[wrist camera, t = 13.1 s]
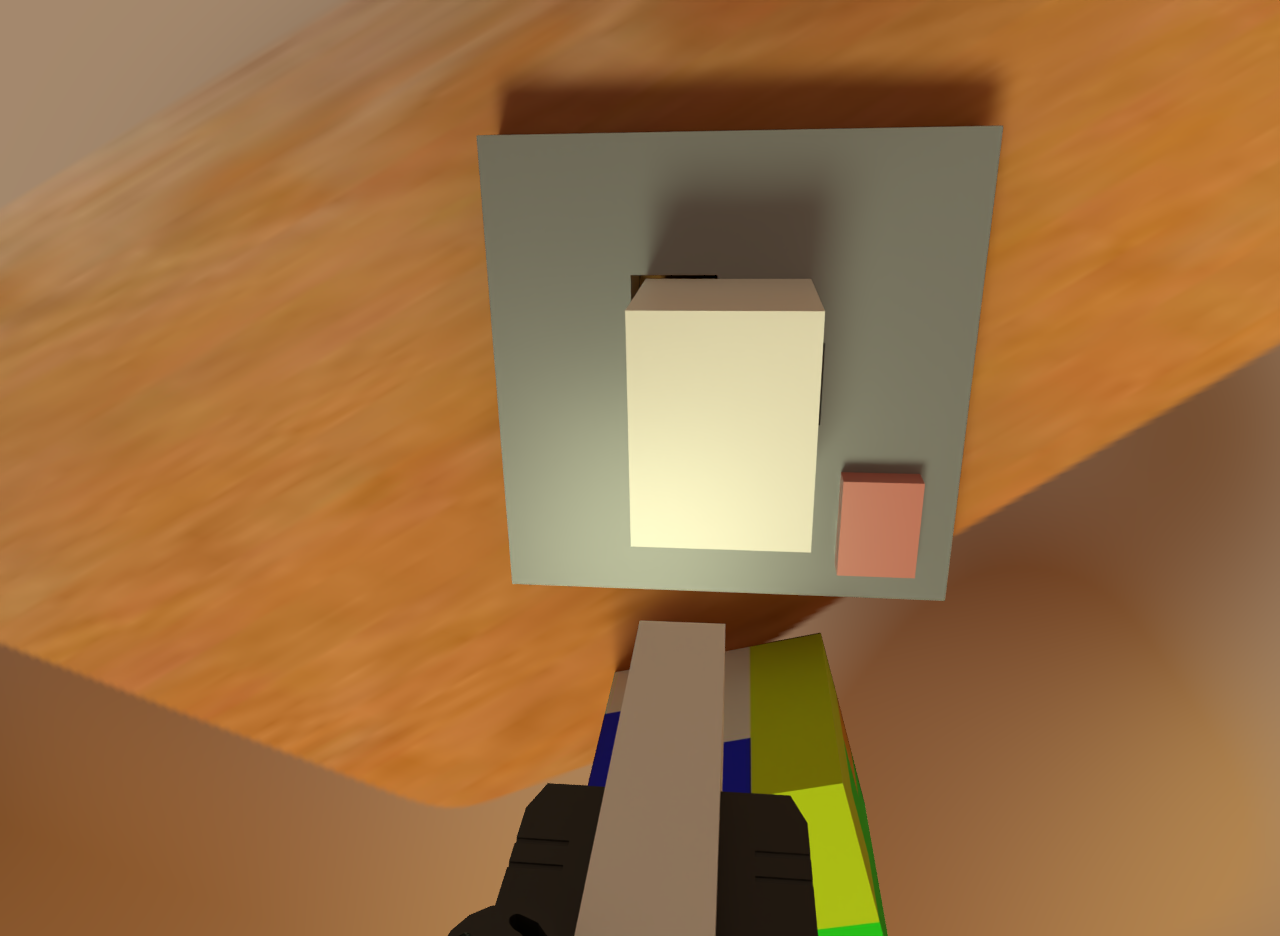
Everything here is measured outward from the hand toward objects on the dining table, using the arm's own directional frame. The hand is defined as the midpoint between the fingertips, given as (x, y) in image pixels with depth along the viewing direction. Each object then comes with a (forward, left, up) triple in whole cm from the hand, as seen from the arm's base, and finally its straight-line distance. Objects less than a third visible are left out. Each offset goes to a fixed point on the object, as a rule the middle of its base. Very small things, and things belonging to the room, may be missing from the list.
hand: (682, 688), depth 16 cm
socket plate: (0, 0, -22) cm, 22 cm away
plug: (0, 0, -22) cm, 22 cm away
